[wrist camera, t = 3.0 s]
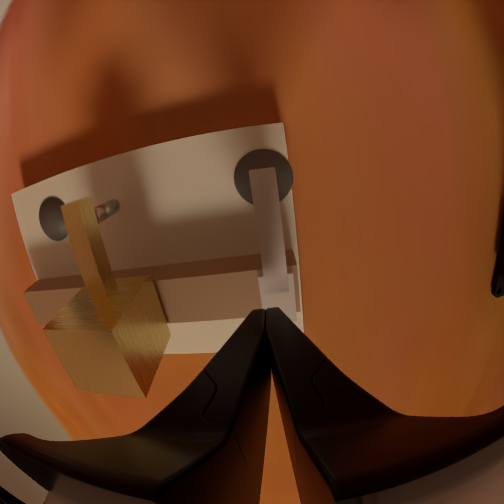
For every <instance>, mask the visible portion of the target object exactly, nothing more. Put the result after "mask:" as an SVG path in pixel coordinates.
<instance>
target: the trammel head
mask: <svg viewBox="0 0 504 504" xmlns="http://www.w3.org/2000/svg"><path fill="white" fill-rule="evenodd" d="M61 210H62V214H63V218H64V222H65V225H66V229H67V232H68V236H69V239H70V242H71V246H72V249H73V252H74V255H75V258H76V261H77V264H78V267H79V270H80V272H81V275H82V278H83V281H84V283H85V286H84V287H83V288H82V289H81V290H80V291H79V292H78V293H77V294H76V295H75V296H74V297H73V298H72V299H71V300H70V301H69V302H68V303H67V304H66V305H65V306H64V307H63V308H62V309H61V310H60V311H59V312H58V313H57V314H56V315H55V316H54V317H53V318H52V319H51V321H50V322H49V323H48V324H47V325H46V326H45V327H44V328H43V329H42V330H43V332H44V334H45V336H46V337H47V339H48V341H49V343H50V345H51V347H52V348H53V350H54V352H55V354H56V355H57V357H58V359H59V361H60V362H61V364H62V366H63V367H64V369H65V370H66V372H67V374H68V375H69V377H70V378H71V380H72V381H73V383H74V384H75V386H76V387H77V389H78V390H81V391H87V392H93V393H100V394H108V395H116V396H126V397H136V398H146V397H147V394H148V392H149V389H150V387H151V384H152V381H153V379H154V376H155V374H156V371H157V369H158V366H159V364H160V361H161V359H162V356H163V354H164V351H165V349H166V346H167V344H168V341H169V339H170V337H171V334H170V331H169V328H168V325H167V322H166V319H165V317H164V314H163V311H162V308H161V305H160V302H159V299H158V295H157V292H156V289H155V286H154V283H153V279H152V276H151V275H144V276H135V277H125V278H114V275H113V272H112V269H111V266H110V263H109V260H108V257H107V254H106V250H105V247H104V244H103V240H102V237H101V233H100V230H99V226H98V224H99V223H100V222H102V221H104V220H105V219H107V218H109V217H110V216H112V215H114V214H115V213H117V212H118V211H119V210H120V202H119V201H118V200H117V199H111V200H108V201H106V202H104V203H102V204H100V205H98V206H96V207H93V202H92V198H91V196H88V197H84V198H80V199H77V200H74V201H71V202H69V203H67V204H64V205H62V206H61Z"/></svg>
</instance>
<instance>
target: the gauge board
mask: <svg viewBox="0 0 504 504" xmlns="http://www.w3.org/2000/svg"><path fill="white" fill-rule="evenodd" d="M292 183H293V173H292V169H291V166H290V164H289V162H288V154H287V146H286V139H285V131H284V124H283V122H282V123H273V124H264V125H256V126H249V127H242V128H235V129H229V130H223V131H217V132H211V133H206V134H201V135H196V136H191V137H186V138H181V139H177V140H172V141H168V142H163V143H159V144H155V145H151V146H147V147H143V148H140V149H136V150H132V151H129V152H125V153H121V154H118V155H115V156H111V157H108V158H105V159H102V160H98V161H95V162H92V163H89V164H86V165H83V166H80V167H77V168H75V169H72V170H69V171H66V172H64V173H61V174H58V175H56V176H53V177H50V178H48V179H45V180H43V181H40V182H38V183H36V184H33V185H31V186H28V187H26V188H24V189H22V190H19V191H17V192H15V193H13V194H11V196H12V200H13V204H14V209H15V213H16V216H17V220H18V224H19V227H20V231H21V234H22V238H23V241H24V244H25V247H26V250H27V253H28V256H29V259H30V262H31V265H32V268H33V270H34V273H35V276H36V278H37V281H36V282H35V283H34V284H33V285H32V286H30V287H29V288H28V289H27V290H26V291H24V294H25V296H26V298H27V301H28V303H29V305H30V307H31V309H32V312H33V314H34V316H35V318H36V320H37V322H38V324H46V325H47V324H48V323H49V322H50V321H51V319H52V318H53V317H54V316H55V315H56V314H57V313H58V312H59V311H60V310H61V309H62V308H63V307H64V306H65V305H66V304H67V303H68V302H69V301H70V300H71V299H72V298H73V297H74V296H75V295H76V294H77V293H78V292H79V291H80V290H81V289H82V288H83V287H84V286H85V283H84V281H83V278H82V275H81V272H80V270H79V267H78V264H77V261H76V258H75V255H74V252H73V249H72V246H71V242H70V239H69V236H68V232H67V229H66V225H65V222H64V218H63V214H62V210H61V206H62V205H64V204H67V203H69V202H71V201H74V200H77V199H80V198H84V197H88V196H91V198H92V202H93V207H96V206H98V205H100V204H102V203H104V202H106V201H108V200H111V199H117V200H118V201H119V202H120V210H119V211H118V212H117V213H115V214H114V215H112V216H110V217H109V218H107V219H105V220H104V221H102V222H100V223H99V224H98V226H99V230H100V233H101V237H102V240H103V244H104V247H105V250H106V254H107V257H108V260H109V263H110V266H111V269H112V272H113V275H114V278H125V277H135V276H144V275H151V276H152V279H153V283H154V286H155V289H156V292H157V295H158V299H159V302H160V305H161V308H162V311H163V314H164V317H165V319H166V322H167V325H168V328H169V331H170V334H171V337H170V339H169V341H168V344H167V346H166V349H165V351H164V354H188V353H213V352H218V351H219V350H220V349H221V347H222V346H223V345H224V344H225V343H226V341H227V340H228V339H229V338H230V336H231V335H232V334H233V333H234V332H235V330H236V329H237V328H238V327H239V326H240V324H241V323H242V322H243V321H244V319H245V318H246V317H247V316H248V314H249V313H250V312H251V311H252V310H254V309H265V310H266V309H267V308H272V307H279V308H280V309H281V310H282V311H283V312H284V313H285V314H286V315H287V316H288V317H289V318H290V319H291V321H292V322H293V323H294V324H295V325H296V326H297V327H298V328H299V329H300V330H301V331H302V332H303V333H304V329H303V312H302V297H301V283H300V270H299V258H298V246H297V235H296V225H295V215H294V205H293V196H292Z"/></svg>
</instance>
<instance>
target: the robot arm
mask: <svg viewBox="0 0 504 504" xmlns="http://www.w3.org/2000/svg"><path fill="white" fill-rule="evenodd" d="M491 293H492V294H493V295H494V296H495V297H501V296H504V222H503V231H502V238H501V245H500V251H499V257H498V262H497V267H496V272H495V276H494V281H493V285H492V289H491ZM271 369H272V376H273V381H274V386H275V390H276V395H277V399H278V404H279V408H280V413H281V417H282V422H283V426H284V431H285V435H286V440H287V444H288V449H289V453H290V458H291V462H292V467H293V471H294V476H295V480H296V484H297V489H298V492H299V498H300V502H301V504H504V406H502V407H500V408H498V409H496V410H494V411H492V412H489V413H486V414H482V415H477V416H469V417H424V416H408V415H403V414H401V413H398V412H396V411H394V410H392V409H390V408H389V407H387V406H386V405H385V404H383V403H382V402H380V401H379V400H378V399H376V398H375V397H374V396H372V395H371V394H369V393H368V392H367V391H365V390H364V389H363V388H361V387H360V386H359V385H357V384H356V383H355V382H353V381H352V380H351V379H350V378H348V377H347V376H346V375H345V374H344V373H343V372H342V371H340V370H339V369H338V368H337V367H336V366H335V365H334V364H333V363H332V362H331V361H330V360H329V359H328V358H327V357H326V356H325V355H324V354H323V353H322V352H321V351H320V350H319V348H318V347H317V346H316V345H315V344H314V343H313V342H312V341H311V340H310V339H309V338H308V337H307V336H306V335H305V334H304V333H303V332H302V331H301V330H300V329H299V328H298V327H297V326H296V325H295V324H294V323H293V322H292V321H291V319H290V318H289V317H288V316H287V315H286V314H285V313H284V312H283V311H282V310H281V309H280V308H279V307H272V308H267V309H266V310H265V309H254V310H252V311H251V312H250V313H249V314H248V316H247V317H246V318H245V319H244V321H243V322H242V323H241V324H240V326H239V327H238V328H237V329H236V330H235V332H234V333H233V334H232V335H231V336H230V338H229V339H228V340H227V341H226V343H225V344H224V345H223V346H222V347H221V349H220V350H219V351H218V352H217V353H216V355H215V356H214V357H213V358H212V359H211V360H210V362H209V363H208V364H207V365H206V366H205V368H204V369H203V371H201V372H200V373H199V374H198V376H197V377H196V378H195V379H194V380H193V381H192V382H191V383H190V384H189V386H188V387H187V388H186V389H185V390H184V391H183V392H182V393H181V394H179V395H178V396H177V397H176V398H175V399H174V400H173V401H172V402H171V403H170V404H169V405H167V406H166V407H165V408H164V409H163V410H162V411H161V412H159V413H158V414H157V415H156V416H155V417H154V418H152V419H151V420H150V421H149V422H148V423H147V424H145V425H144V426H143V427H142V428H140V429H138V430H137V431H135V432H133V433H131V434H127V435H123V436H117V437H109V438H101V439H91V440H79V441H47V440H42V439H39V438H36V437H34V436H31V435H29V434H25V433H19V434H10V435H6V436H3V437H1V438H0V450H1V451H2V453H3V454H4V455H5V456H6V457H7V458H8V459H10V460H11V461H12V462H13V463H14V464H15V465H16V466H17V467H19V468H20V469H21V470H22V471H23V472H25V473H26V474H27V475H28V476H29V477H31V478H32V479H33V480H34V481H36V482H37V483H38V484H39V485H41V486H42V487H43V488H45V489H46V490H48V494H47V496H46V499H45V501H44V504H259V501H260V492H261V483H262V474H263V465H264V455H265V445H266V435H267V424H268V413H269V401H270V389H271ZM0 504H25V503H24V502H22V501H20V500H19V499H17V498H16V497H14V496H13V495H12V494H10V493H9V492H8V491H6V490H5V489H4V488H2V487H1V486H0Z"/></svg>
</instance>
